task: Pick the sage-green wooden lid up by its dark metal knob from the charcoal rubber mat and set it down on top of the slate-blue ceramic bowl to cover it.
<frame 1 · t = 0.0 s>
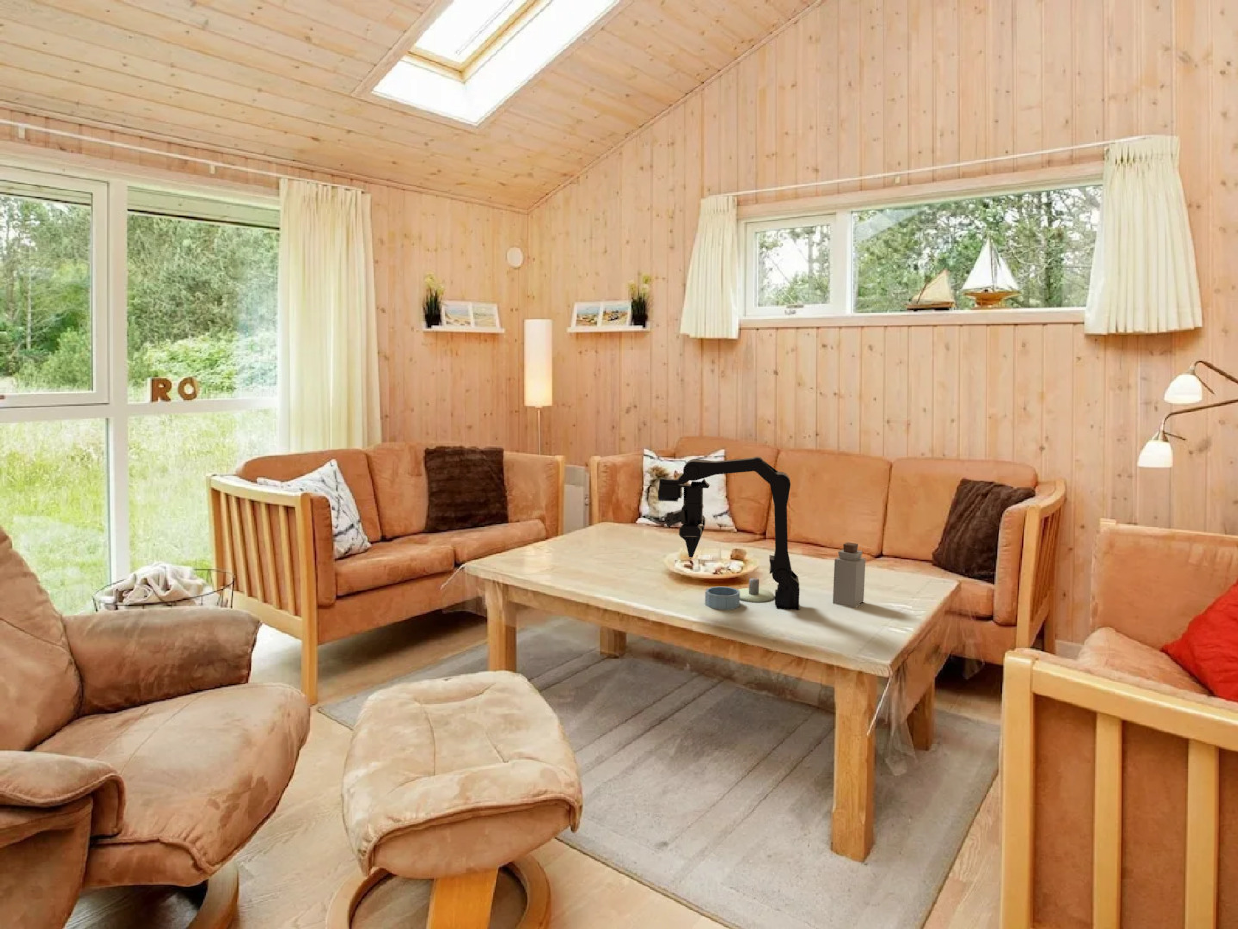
hand: (692, 553, 230), 15 cm above the table, fingers open, 9 cm apart
perfume bottle: (848, 603, 231), on the table
bowl: (722, 605, 228), on the table
mat: (753, 597, 236), on the table
lid: (753, 596, 236), resting on mat
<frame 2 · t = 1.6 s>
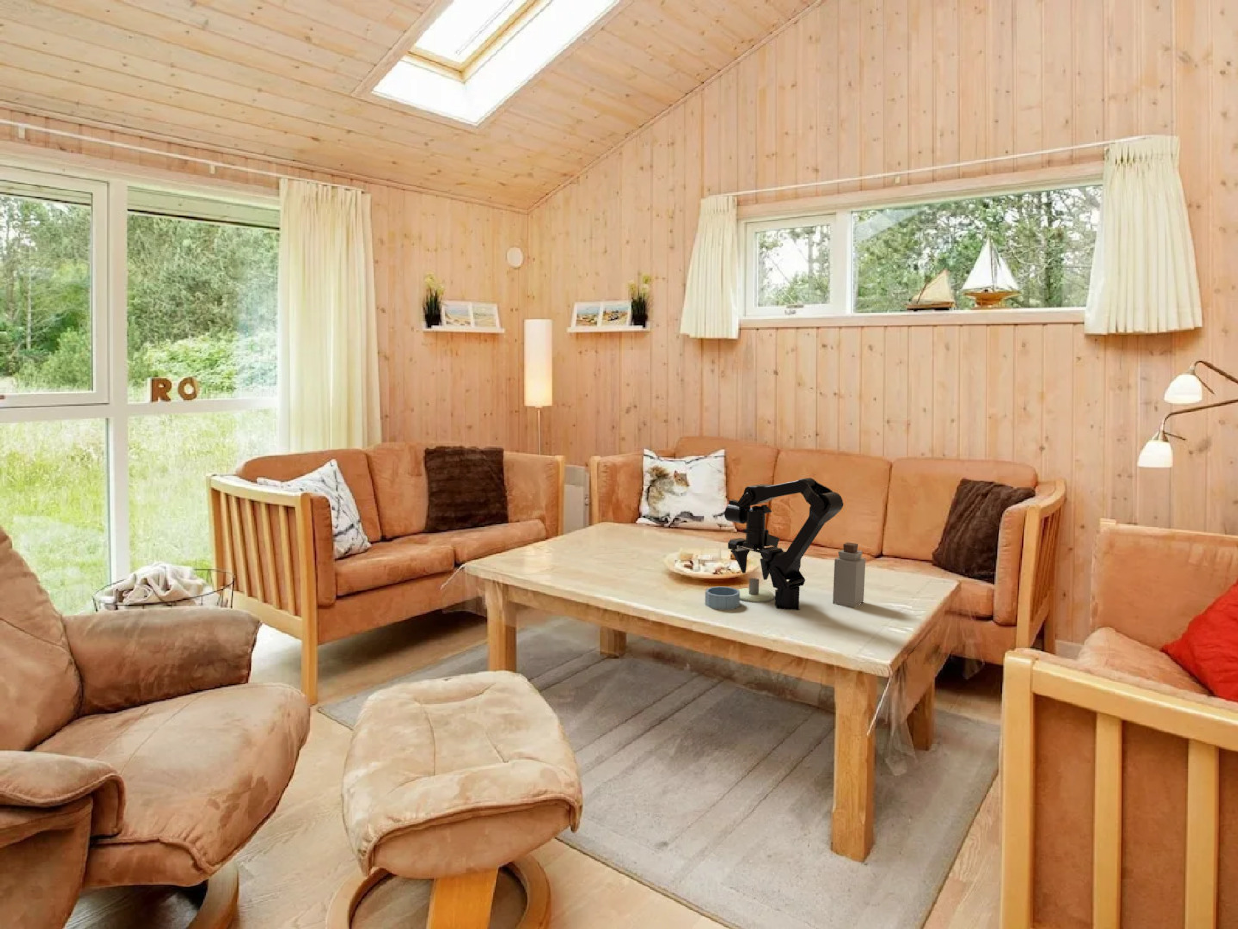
hand: (754, 576, 235), 7 cm above the table, fingers open, 9 cm apart
nothing on the table moved.
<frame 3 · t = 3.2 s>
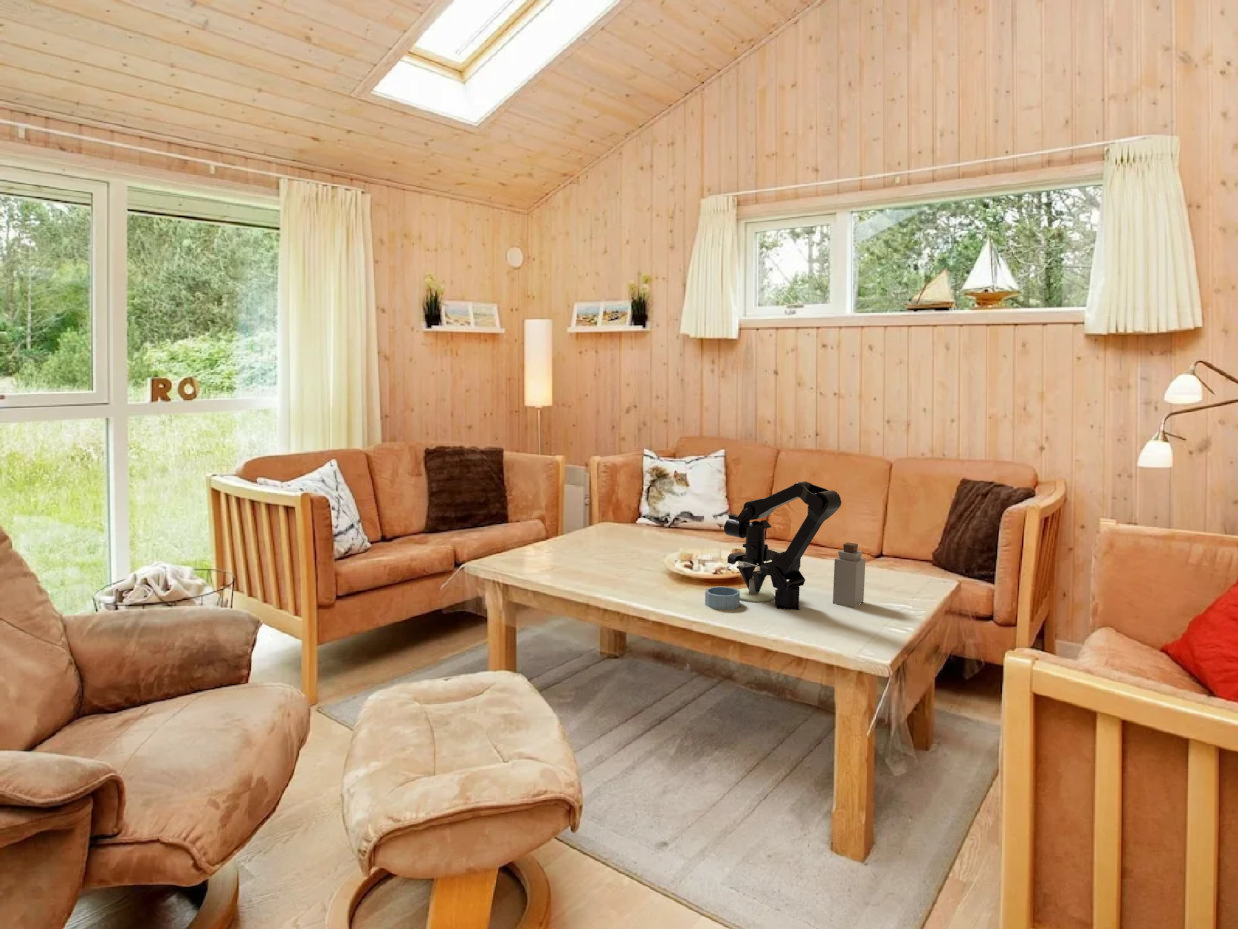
hand: (753, 590, 236), 2 cm above the table, fingers closed on lid, 3 cm apart
lid: (753, 596, 236), resting on mat, touching gripper
everything else where it was.
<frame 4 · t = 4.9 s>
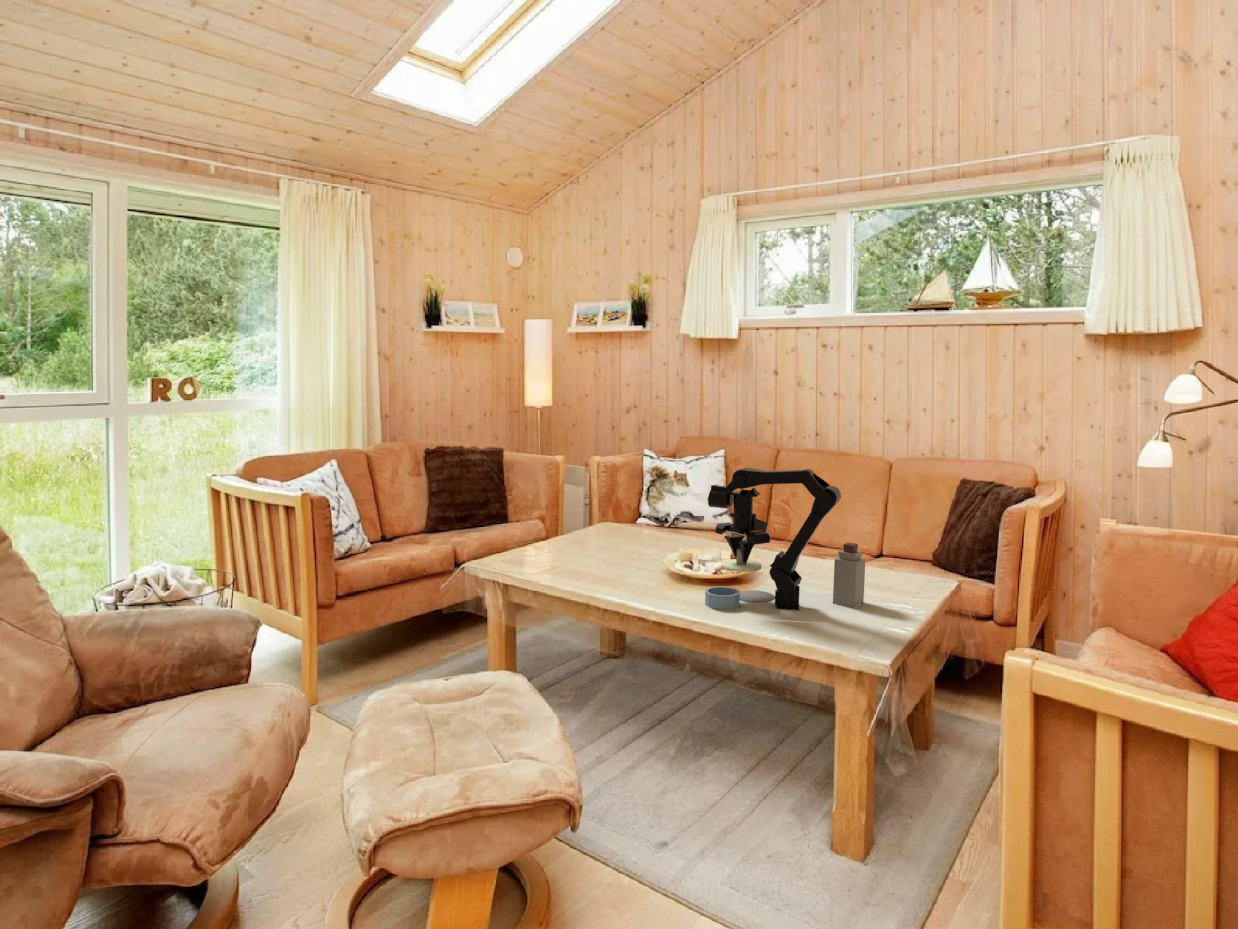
hand: (741, 561, 232), 12 cm above the table, fingers closed on lid, 3 cm apart
lid: (741, 566, 232), point 10 cm above the table, touching gripper
everything else where it was.
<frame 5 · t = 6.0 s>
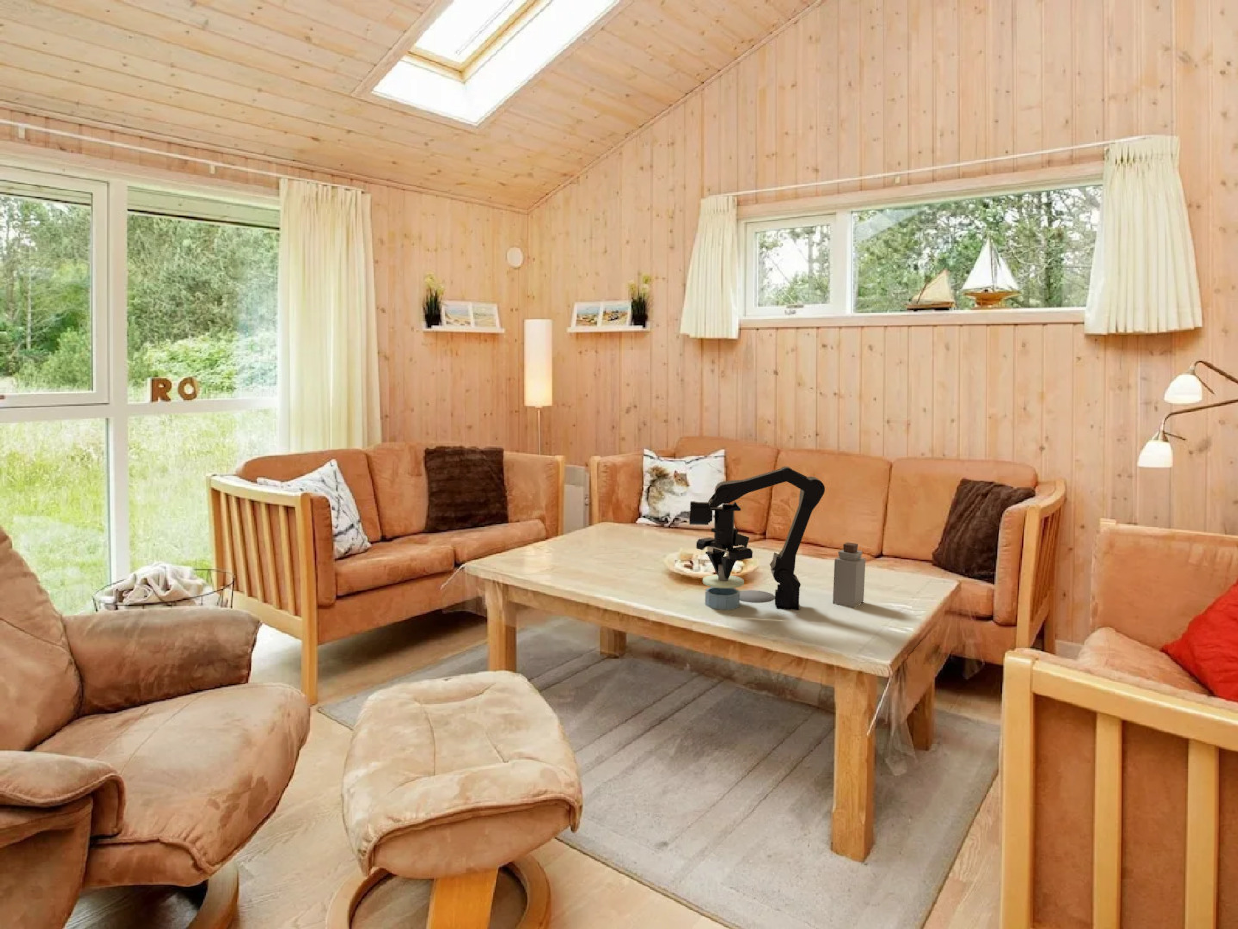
hand: (723, 577, 227), 9 cm above the table, fingers closed on lid, 3 cm apart
lid: (723, 582, 227), point 7 cm above the table, touching gripper
everything else where it was.
when the fingers open (7 cm above the table, at t = 6.8 s): lid drops 1 cm, resting on bowl.
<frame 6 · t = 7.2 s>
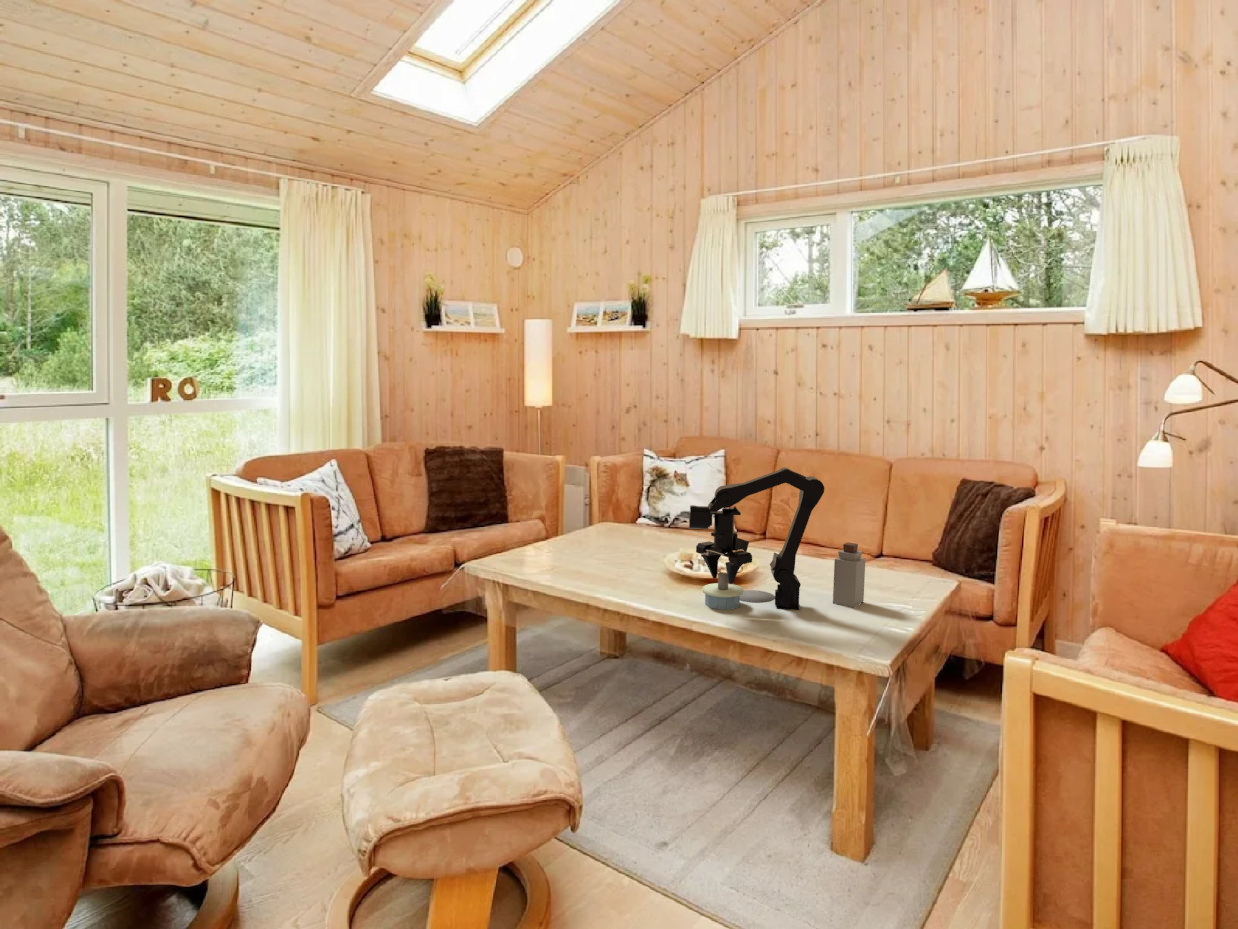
hand: (722, 581, 227), 7 cm above the table, fingers open, 7 cm apart
bowl: (722, 605, 228), on the table, touching lid
lid: (722, 591, 227), point 4 cm above the table, touching bowl
everything else where it was.
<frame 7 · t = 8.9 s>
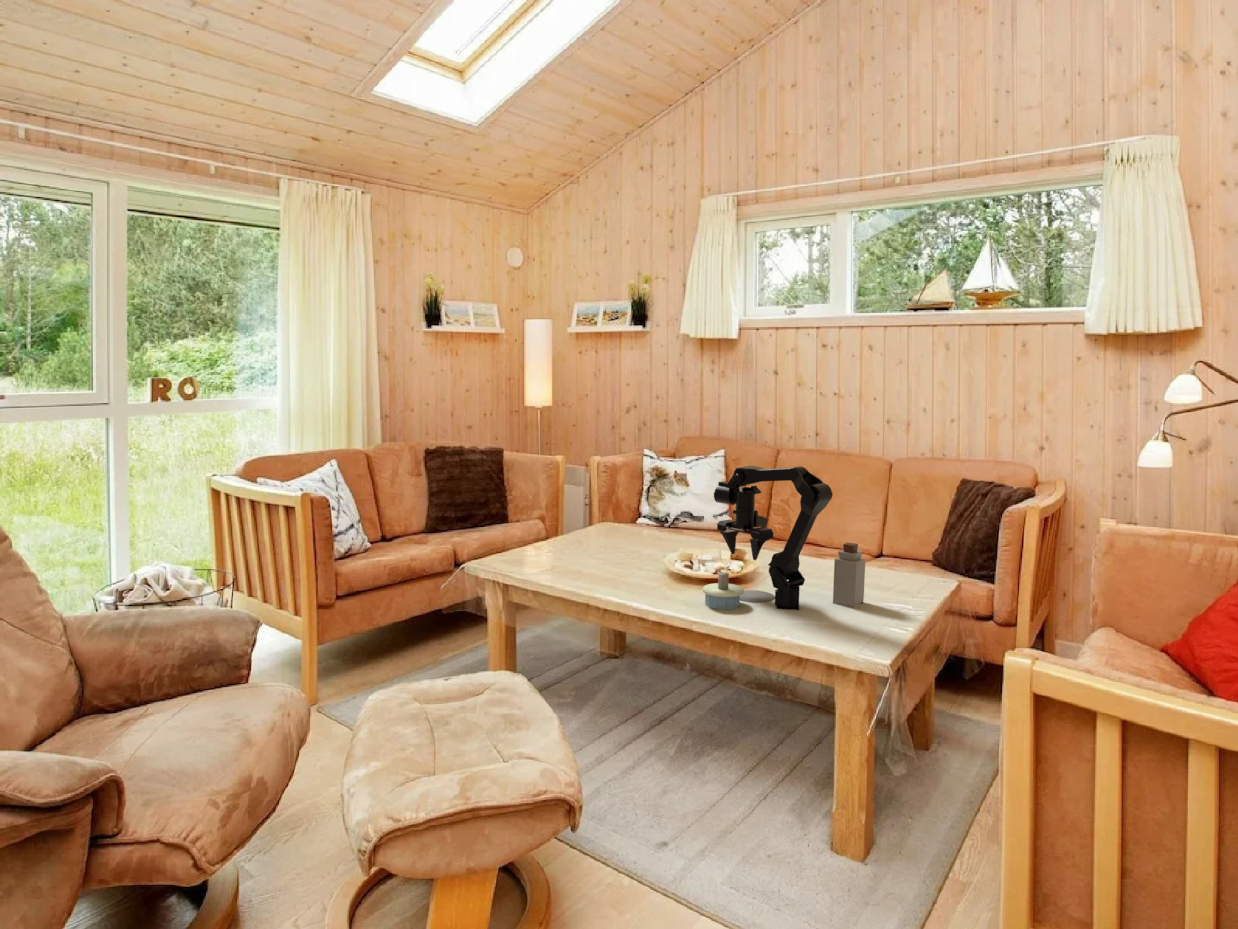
hand: (743, 557, 237), 12 cm above the table, fingers open, 9 cm apart
nothing on the table moved.
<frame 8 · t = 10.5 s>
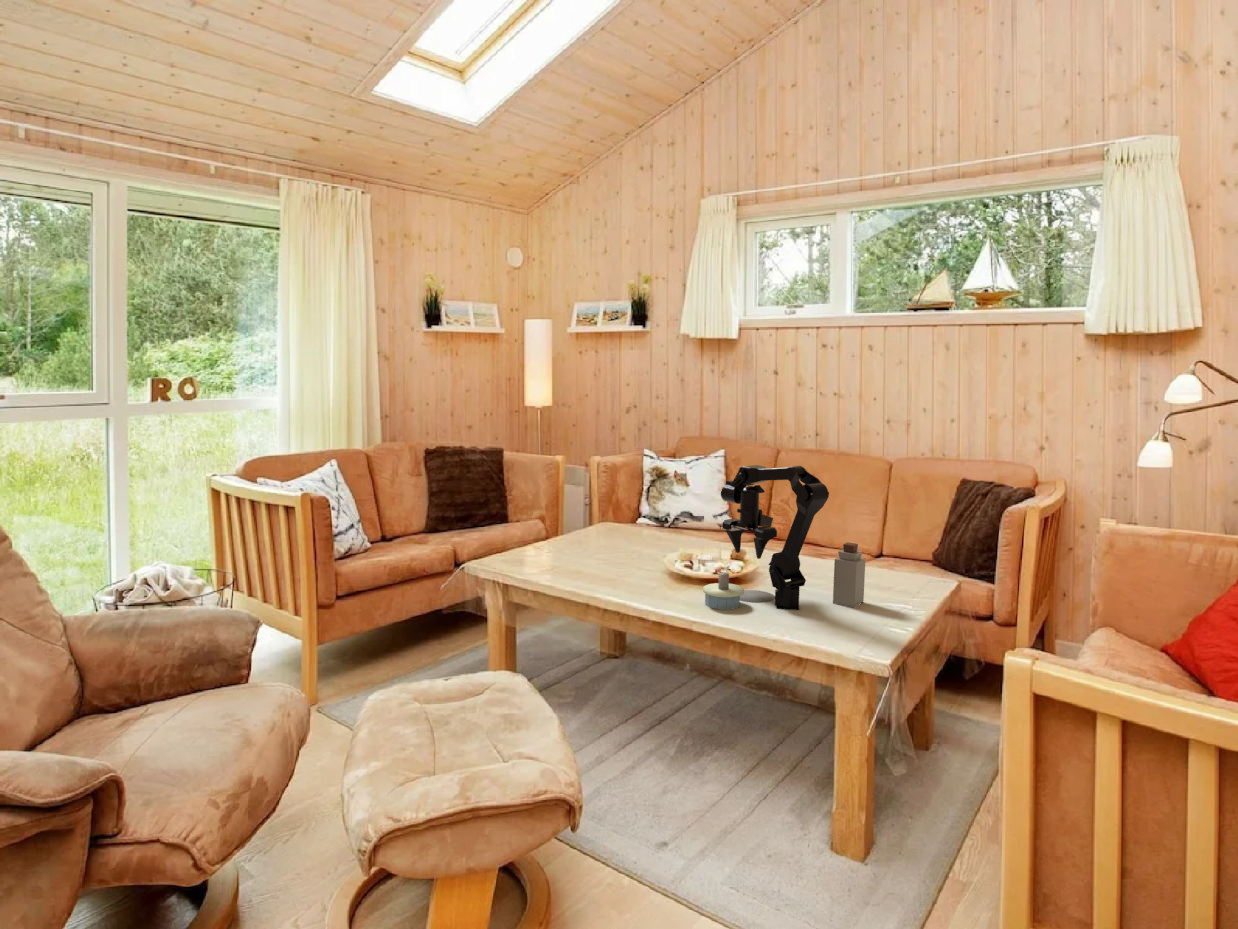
hand: (748, 555, 239), 12 cm above the table, fingers open, 9 cm apart
nothing on the table moved.
at the end: lid 0.2 cm off-centre on the bowl, point 4.4 cm above the bowl's base; lid tilted 0°; the gripper is holding nothing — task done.
